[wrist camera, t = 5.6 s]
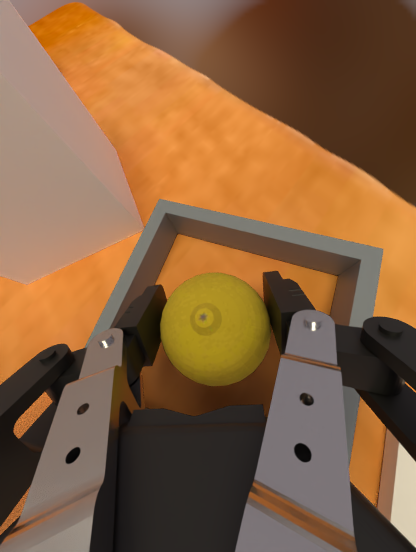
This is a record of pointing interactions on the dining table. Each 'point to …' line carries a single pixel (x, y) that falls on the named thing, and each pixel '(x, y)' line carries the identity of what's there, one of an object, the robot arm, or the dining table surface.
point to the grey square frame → (263, 241)
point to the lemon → (215, 329)
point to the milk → (52, 165)
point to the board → (398, 488)
